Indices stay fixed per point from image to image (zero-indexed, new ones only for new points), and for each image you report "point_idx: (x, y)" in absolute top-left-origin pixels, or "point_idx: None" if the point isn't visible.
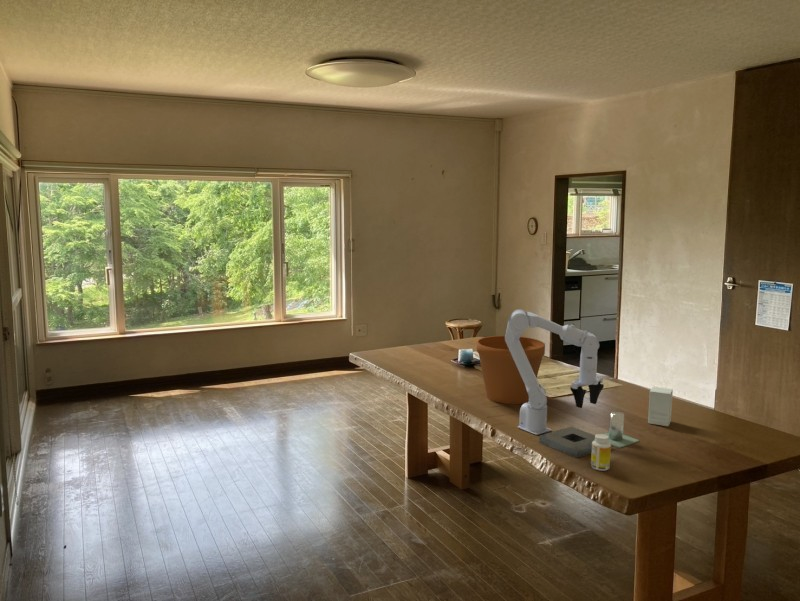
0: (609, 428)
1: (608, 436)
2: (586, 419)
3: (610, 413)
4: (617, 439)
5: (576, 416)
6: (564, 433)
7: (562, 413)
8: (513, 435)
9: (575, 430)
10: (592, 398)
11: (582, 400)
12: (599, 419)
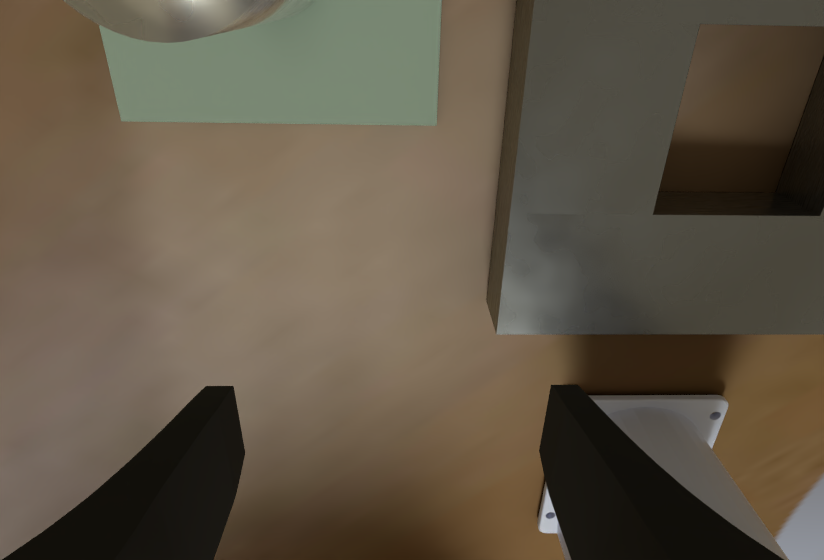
0: (297, 4)
1: (281, 36)
2: (126, 415)
3: (253, 1)
4: None
5: None
6: (707, 255)
7: None
8: (818, 460)
9: (556, 250)
10: (215, 491)
11: (634, 468)
12: (18, 368)
